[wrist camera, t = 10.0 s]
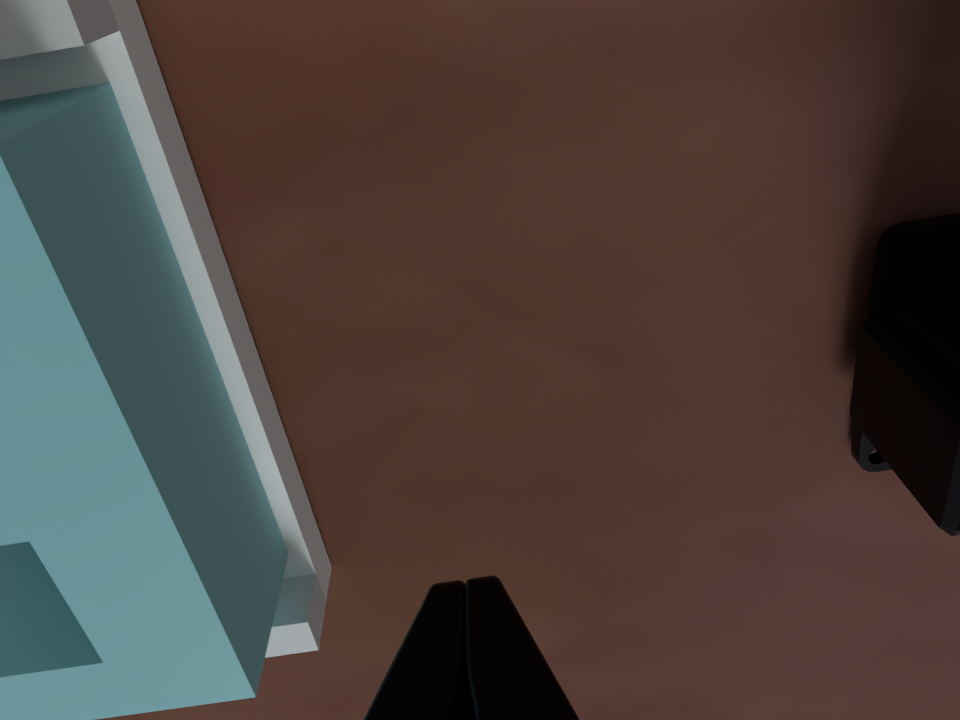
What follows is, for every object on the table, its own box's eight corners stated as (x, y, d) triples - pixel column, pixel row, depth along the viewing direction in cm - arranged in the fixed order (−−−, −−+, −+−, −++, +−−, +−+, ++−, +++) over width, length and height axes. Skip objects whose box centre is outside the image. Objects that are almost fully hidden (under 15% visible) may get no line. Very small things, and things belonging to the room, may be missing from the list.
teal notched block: (110, 82, 13) (-4, 146, 10) (288, 552, 19) (256, 696, 16) (-281, 147, 13) (-527, 232, 10) (12, 592, 19) (-80, 743, 16)
